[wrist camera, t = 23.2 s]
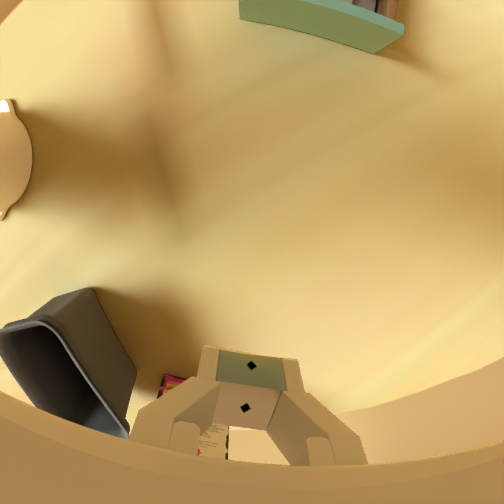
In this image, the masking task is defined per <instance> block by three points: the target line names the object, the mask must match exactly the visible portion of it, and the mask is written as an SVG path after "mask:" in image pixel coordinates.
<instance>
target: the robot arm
mask: <svg viewBox="0 0 504 504" xmlns="http://www.w3.org/2000/svg"><path fill="white" fill-rule="evenodd" d="M31 168H32V147H31V142H30V138H29V135H28V132H27V130H26V128H25V126H24V125H23V123H22V122H21V121H20V120H19V119H18V118H17V116H16V114H15V111H14V107H13V104H12V102H11V101H10V100H9V99H7V100H2V101H0V221H1V220H2V219H3V218H4V216H5V214H6V212H7V210H8V208H9V207H10V206H11V205H12V204H14V203H15V202H16V201H17V200H18V199H19V198H20V197H21V196H22V194H23V193H24V191H25V189H26V187H27V184H28V181H29V178H30V174H31ZM212 423H213V424H220V425H228V426H237V427H244V428H251V429H258V430H266V431H267V433H268V435H269V436H270V437H271V439H272V440H273V441H274V443H275V444H276V446H277V447H278V449H279V450H280V451H281V453H282V454H283V455H284V457H285V458H286V459H287V461H288V462H289V463H290V465H277V464H263V463H251V462H241V461H232V460H225V459H218V458H211V457H204V456H198V455H197V452H198V444H199V437H200V436H201V435H202V434H203V433H204V432H205V431H206V430H207V429H208V428H209V427H210V426H211V425H212ZM0 504H504V441H500V442H497V443H493V444H489V445H485V446H482V447H478V448H473V449H470V450H465V451H460V452H455V453H450V454H445V455H440V456H435V457H428V458H421V459H415V460H407V461H399V462H390V463H379V464H368V462H367V459H366V456H365V453H364V450H363V447H362V443H361V440H360V437H359V436H358V435H357V434H356V433H354V432H353V431H352V430H351V429H350V428H349V427H347V426H346V425H345V424H344V423H343V422H341V421H340V420H339V419H338V418H337V417H336V416H335V415H334V414H332V413H331V412H330V411H329V410H328V409H327V408H326V407H324V406H323V405H322V404H321V403H320V402H319V401H318V400H317V399H315V398H314V397H313V396H312V395H311V394H310V393H305V390H304V385H303V381H302V376H301V372H300V367H299V363H298V360H297V359H290V358H277V357H269V356H262V355H255V354H250V353H245V352H240V351H234V350H229V349H224V348H220V349H219V347H213V346H208V345H203V347H202V352H201V357H200V362H199V367H198V372H197V377H190V378H189V379H187V380H186V381H184V382H183V383H181V384H180V385H178V386H176V387H175V388H173V389H172V390H170V391H169V392H167V393H166V394H164V395H162V396H161V397H159V398H158V399H156V400H154V401H153V402H151V403H150V404H148V405H146V406H145V407H143V408H142V409H140V410H139V412H138V414H137V417H136V420H135V423H134V426H133V429H132V431H131V434H130V437H129V440H126V439H123V438H119V437H116V436H112V435H109V434H106V433H103V432H100V431H96V430H93V429H90V428H87V427H84V426H82V425H79V424H76V423H73V422H70V421H68V420H65V419H63V418H60V417H57V416H55V415H52V414H50V413H47V412H45V411H43V410H40V409H38V408H36V407H33V406H31V405H29V404H27V403H24V402H22V401H20V400H18V399H16V398H14V397H12V396H10V395H8V394H6V393H4V392H2V391H0Z"/></svg>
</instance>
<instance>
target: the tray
mask: <svg viewBox="0 0 504 504" xmlns="http://www.w3.org/2000/svg"><path fill="white" fill-rule="evenodd" d="M375 3H376V0H239V12H240V19H242V20H248V21H254V22H260V23H265V24H270V25H275V26H279V27H284V28H288V29H292V30H297V31H301V32H305V33H308V34H312V35H316V36H319V37H323V38H326V39H330V40H333V41H336V42H340V43H343V44H346V45H349V46H352V47H355V48H358V49H361V50H363V51H366V52H369V53H372V54H374V53H376V52H377V51H379V50H381V49H382V48H384V47H385V46H387V45H389V44H390V43H392V42H394V41H395V40H397V39H399V38H400V37H402V36H404V29H405V25H404V24H402V23H399V22H397V21H395V20H392V19H390V18H388V17H385V16H383V15H380V14H378V13H375V12H374V10H375Z"/></svg>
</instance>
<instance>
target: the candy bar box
mask: <svg viewBox="0 0 504 504" xmlns="http://www.w3.org/2000/svg"><path fill="white" fill-rule="evenodd" d="M186 380H187V379H182V378H178V377H174V376H170V375H166V374H164V376H163V379H162V382H161V386H160V389H159V392H158V396H157V399H158V398H159V397H161V396H162V395H164V394H166V393H167V392H169V391H170V390H172V389H173V388H175V387H176V386H178V385H180V384H181V383H183V382H184V381H186ZM228 440H229V426H228V425H220V424H213V423H212V425H211V426H210V427H209V428H208V429H207V430H206V431H205V432H204V433H203V434H202V435H201V436H200V437H199V444H198V452H197V455H198V456H204V457H211V458H218V459H225V460H228Z"/></svg>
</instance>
